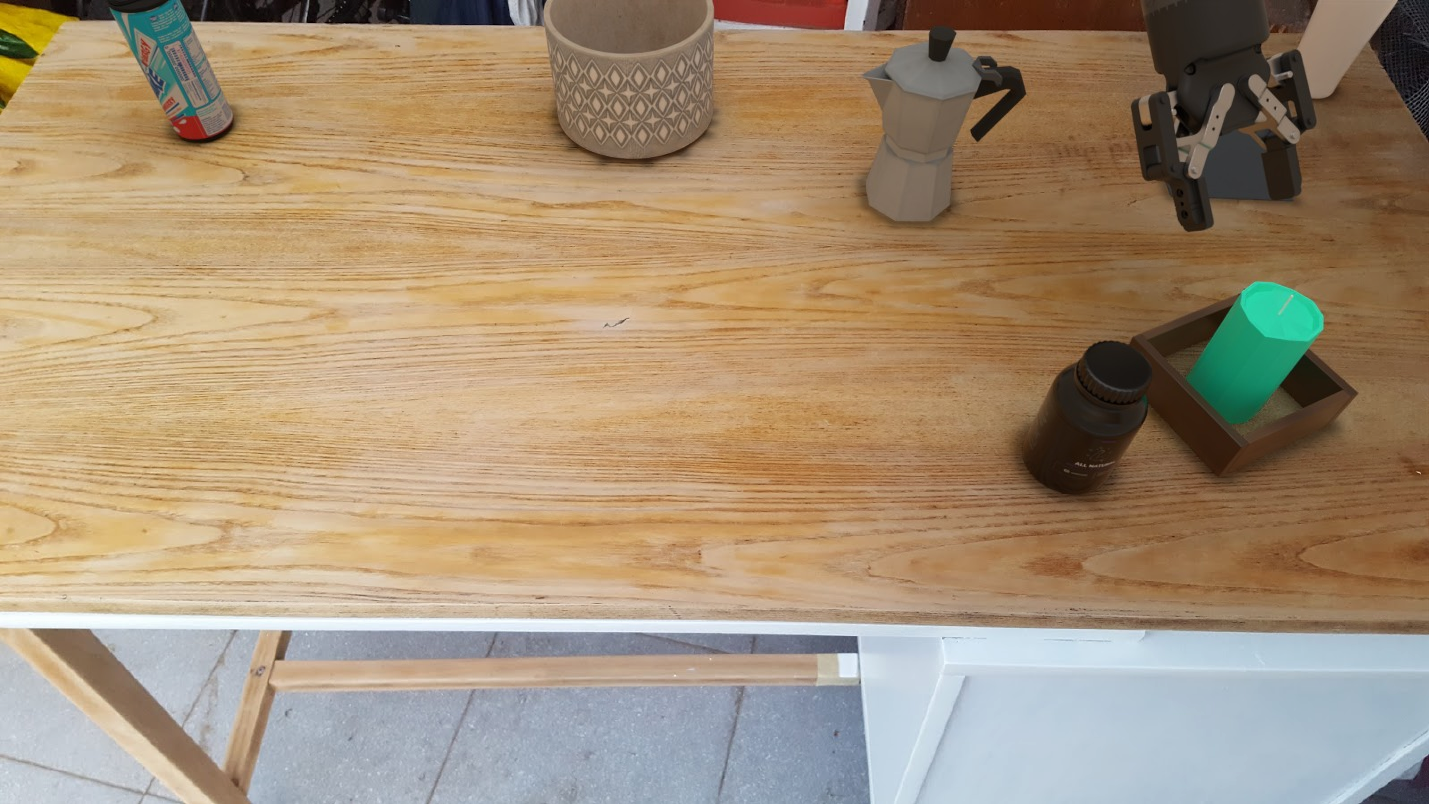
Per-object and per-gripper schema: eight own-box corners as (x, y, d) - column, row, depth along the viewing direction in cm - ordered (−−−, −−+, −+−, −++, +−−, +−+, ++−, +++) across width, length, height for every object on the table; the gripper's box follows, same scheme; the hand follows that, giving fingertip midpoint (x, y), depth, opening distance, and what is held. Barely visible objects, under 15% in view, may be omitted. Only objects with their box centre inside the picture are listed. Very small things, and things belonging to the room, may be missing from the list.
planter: (729, 87, 105) (731, -24, 95) (690, 181, 95) (688, 69, 85) (588, 64, 107) (576, -46, 97) (536, 154, 97) (517, 42, 87)
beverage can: (182, 112, 101) (112, -23, 89) (239, 108, 102) (178, -27, 90) (172, 147, 98) (97, 12, 86) (231, 142, 98) (166, 6, 86)
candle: (1167, 379, 80) (1231, 278, 70) (1226, 360, 81) (1296, 258, 71) (1214, 434, 76) (1287, 335, 67) (1274, 413, 77) (1354, 313, 68)
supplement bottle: (1072, 514, 72) (1128, 421, 62) (1002, 456, 75) (1045, 359, 66) (1126, 467, 75) (1188, 370, 65) (1056, 413, 78) (1106, 313, 68)
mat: (1254, 130, 101) (1257, 125, 100) (1291, 205, 94) (1294, 200, 93) (1141, 126, 101) (1143, 121, 101) (1168, 200, 94) (1171, 195, 93)
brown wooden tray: (1221, 327, 84) (1244, 290, 80) (1328, 427, 77) (1359, 393, 74) (1113, 372, 81) (1132, 336, 77) (1215, 480, 74) (1241, 447, 70)
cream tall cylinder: (1277, 101, 104) (1351, -32, 92) (1270, 66, 108) (1340, -65, 96) (1342, 110, 103) (1425, -22, 91) (1333, 75, 107) (1411, -56, 95)
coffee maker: (846, 228, 91) (873, 61, 77) (838, 169, 96) (861, 3, 82) (1000, 227, 91) (1056, 61, 77) (983, 169, 97) (1032, 3, 82)
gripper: (1161, -3, 62) (1211, 237, 65) (1320, -48, 66) (1361, 180, 69) (1083, 31, 69) (1131, 245, 72) (1231, -12, 73) (1271, 193, 76)
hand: (1243, 213), depth 70 cm, fingers open, 8 cm apart
